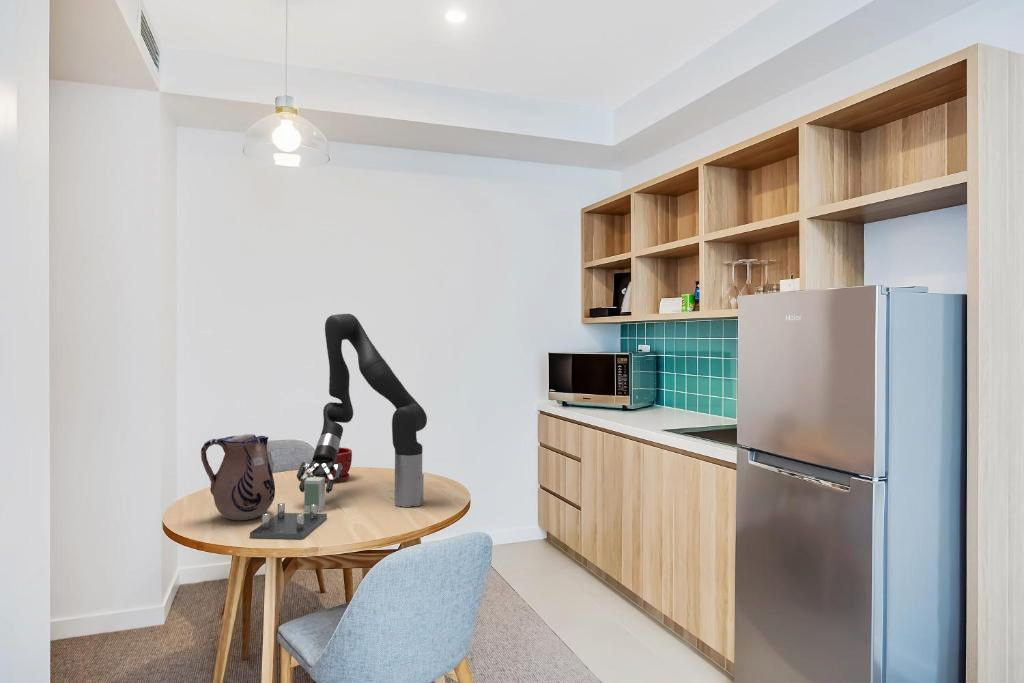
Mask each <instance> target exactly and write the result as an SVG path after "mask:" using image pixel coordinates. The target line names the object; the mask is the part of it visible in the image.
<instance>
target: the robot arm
mask: <svg viewBox="0 0 1024 683" xmlns="http://www.w3.org/2000/svg"><path fill="white" fill-rule="evenodd" d="M324 333H325V342H326V343H325V344H326V350H327V357H328V364H329V365H328V366H329V371H328V372H329V377H328V378H329V379H328V380H329V382H328V383H329V384H328V385H329V386H328V393H329V396H330V397H332V398H335V399H338V400H340V402H328V403H326V404H325V405H324V407H323V411H322V414H323V417H322V418H323V425H322V430H321V433H320V436H319V438H318V441H317V443H316V445H315V446H316V447H315V449H314V453H313V456H312V460H311V462H310V463H306V462H305V461H303V462H301V463H300V467H299V469H298V471H297V473H296V479H297V480H298V481H299V482H300V483H299V485H298V489H299V491H300V492H301V493H304V481H305V480H306V479H308V478H310V477H325V476H327V477H328V478H329V480H328V482H326V483H327V484H326V486H325V493H326V494H329V493H330V492H332V490H333V488H334V487H333V486H334V484H335V482H337V483H341V482H340V480H341V475H342V470H343V467H342V464H341V463H338V465H334V464H335V461H336V457H337V454H338V451H339V447H340V446H341V439H342V436H343V432H344V428H343V426H342V424H340V423H343V424H344V423H345V424H346V423H350V422H351V421H352V420H353V417H354V409H353V403H352V401H351V397H350V370H349V367H348V365H347V363H346V361H345V358H344V355H343V350H342V343H343V340H348V342H349V343H350V344H351V345H352V347H353V348H354V350H355V351H356V353H357V362H358V370H359V371H360V374H361V376H362V377H363V379H364V381H366V382H367V384H368V385H369V386H370V387H371V388H372V390H374V391H375V392H377V393H378V395H381V397H383V398H385V399H386V400H388V402H390V403H391V404H392V406H394V408H395V409H396V410H395V411H394V412H393V414H392V418H391V434H392V445H393V448H394V497H393V499H394V505H395V506H396V505H397V506H396V507H400V506H402V507H401V508H411V506H414V507H421V506H422V504H423V503H424V484H425V483H424V478H425V477H424V473H423V445H422V443H420V442H418V439H417V432H420V431H422V430H424V428H426V426H427V423H428V422H427V421H428V417H427V416H428V415H427V413H426V412H425V410H424V408H423V407H422V406H421V405H420V404H419V402H418V401H416V399H415V398H414V397H413V396H412V395H411V394H410V393H409V392H408V390H407V389H406V388H405V387H404V385H403V383H402V382H401V381H400V380H399V378H398V377H397V375H396V374H395V373H394V372H393V370H392V369H391V367H390V365H389V364H388V363H387V361H386V360H385V359H384V358H383V356H382V355H381V353H379V351H378V350H377V348H376V347H375V345H374V344H373V343H372V341H371V340H370V338H369V336H368V334H367V333H366V331H365V329H364V327H363V325H362V324H361V323H360V320H359V319H358V318H357V316H355V315H353V314H351V313H339V314H337V313H336V314H331V315H330V316H328V317H327V318H326V320H325V323H324ZM334 469H336V475H335V477H333V476H332V475H331V473H330V472H332V471H333V470H334ZM422 502H423V503H422ZM420 505H421V506H420Z"/></svg>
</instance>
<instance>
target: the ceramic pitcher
mask: <svg viewBox="0 0 1024 683" xmlns="http://www.w3.org/2000/svg"><path fill="white" fill-rule="evenodd" d="M268 441H269V436H265V435H258V436H256V434H254V433H253V434H251V433H250V434H240V435H239V434H238V435H230V436H226V437H222V438H220V437H219V438H211V439H209V440H208V441H205V443H204V444H203V445H202V447H201V449H200V457H201V462H202V465H203V467H204V470H205V472H206V474H207V476H208V478H209V480H210V493H211V495H212V496H213V500H214V502H213V503H214V505H215V507H216V509H217V511H218V512H219V513H220V514H221V515H222V516H223V517H225V518H226V519H229V520H230V519H231V521H247V520H249V519H250V520H253V519H256V518H259V517H262V514H263V513H267V511H268V510H269V509H270V507H271V506H272V504H273V502H274V499H275V496H276V485H275V479H274V475H273V474H272V470H271V467H270V463H269V459H268V455H267V451H268ZM213 445H218V446H220V447H221V448H222V449H223V450H222V451H223V452H224V456H223V458H222V462H221V463H220V465H219V469H218V470H217V472H216V474H215V473H214V471H213V468H212V467H211V465H210V464H209V461H208V457H207V452H208V449H209V448H210V447H211V446H213Z"/></svg>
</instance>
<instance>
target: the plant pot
mask: <svg viewBox="0 0 1024 683" xmlns="http://www.w3.org/2000/svg"><path fill="white" fill-rule="evenodd" d="M352 459H353V450H352V449H351V448H347V447H340V446H339V451H338V454H337V457H336V461H335V464H334V465H338V463H341V464H342V467H343V470H342V475H341V480H340V482H339V483H341V482H345V481H347V480H348V479H349V478H350V473H349V471H350V469H351V466H352ZM330 473H331V475H332V476H333V477H335V475H336V469H334V470H333V471H332V472H330ZM328 480H329V478H328V477H327V476H325V483H328Z"/></svg>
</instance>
